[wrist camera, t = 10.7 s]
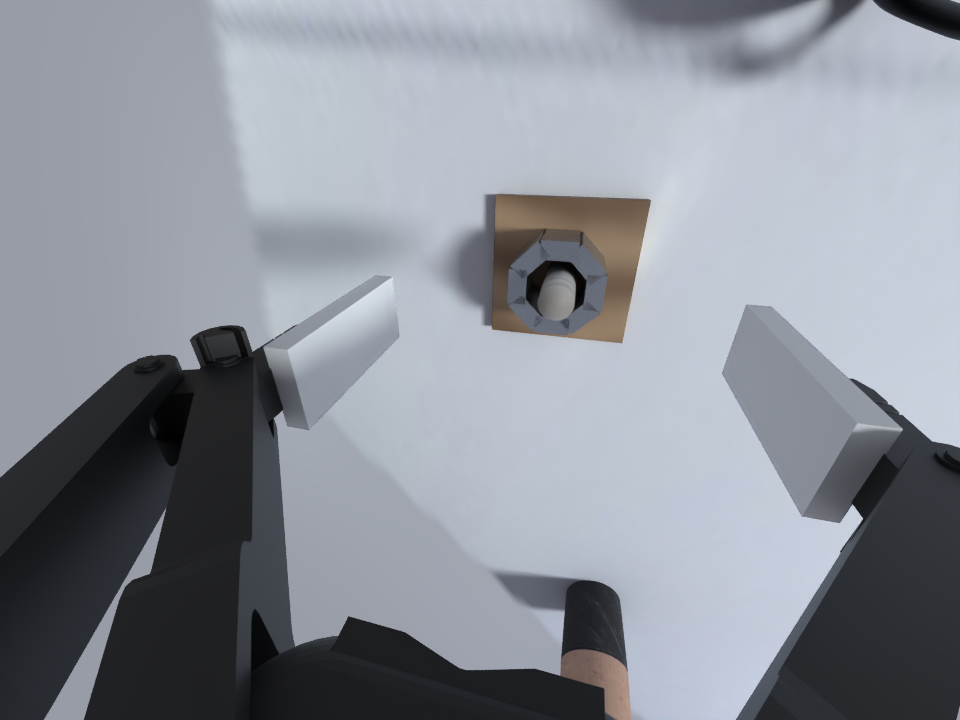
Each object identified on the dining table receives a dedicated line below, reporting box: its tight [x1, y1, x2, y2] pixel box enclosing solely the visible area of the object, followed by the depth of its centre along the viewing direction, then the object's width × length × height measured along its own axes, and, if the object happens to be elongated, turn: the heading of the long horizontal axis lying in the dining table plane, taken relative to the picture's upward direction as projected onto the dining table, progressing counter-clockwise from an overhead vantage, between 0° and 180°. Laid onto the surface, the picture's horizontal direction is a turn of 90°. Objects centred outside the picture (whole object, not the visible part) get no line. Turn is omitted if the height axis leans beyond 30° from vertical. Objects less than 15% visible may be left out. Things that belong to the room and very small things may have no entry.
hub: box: [507, 228, 608, 336], centre depth 32 cm, size 7×7×5 cm
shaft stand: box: [492, 194, 651, 343], centre depth 31 cm, size 12×12×9 cm
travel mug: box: [561, 581, 631, 720], centre depth 46 cm, size 8×8×20 cm
